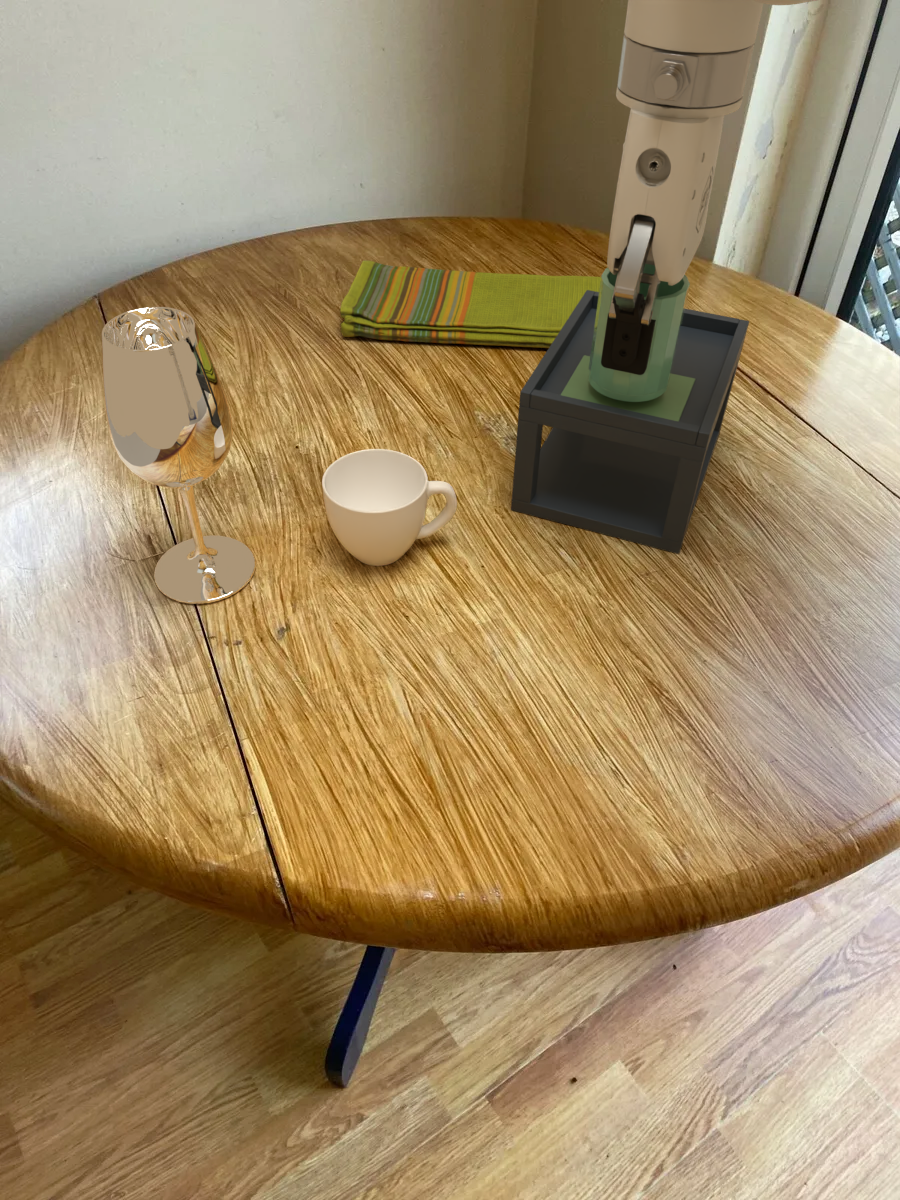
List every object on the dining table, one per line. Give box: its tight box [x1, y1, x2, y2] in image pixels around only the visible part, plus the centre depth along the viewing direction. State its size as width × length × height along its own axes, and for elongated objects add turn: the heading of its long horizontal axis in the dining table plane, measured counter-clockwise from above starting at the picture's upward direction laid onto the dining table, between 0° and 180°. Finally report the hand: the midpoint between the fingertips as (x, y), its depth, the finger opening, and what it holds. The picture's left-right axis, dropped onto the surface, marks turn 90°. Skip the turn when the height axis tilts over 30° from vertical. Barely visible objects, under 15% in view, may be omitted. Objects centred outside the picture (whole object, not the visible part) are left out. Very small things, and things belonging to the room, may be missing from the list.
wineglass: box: [101, 306, 257, 605], centre depth 62 cm, size 8×8×20 cm
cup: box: [321, 448, 458, 567], centre depth 69 cm, size 8×10×7 cm
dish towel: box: [339, 259, 601, 349], centre depth 98 cm, size 15×36×3 cm, turn 85°
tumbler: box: [588, 264, 691, 402], centre depth 66 cm, size 6×6×8 cm
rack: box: [510, 290, 750, 555], centre depth 75 cm, size 14×18×11 cm
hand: (634, 345), depth 66 cm, fingers closed on tumbler, 6 cm apart
